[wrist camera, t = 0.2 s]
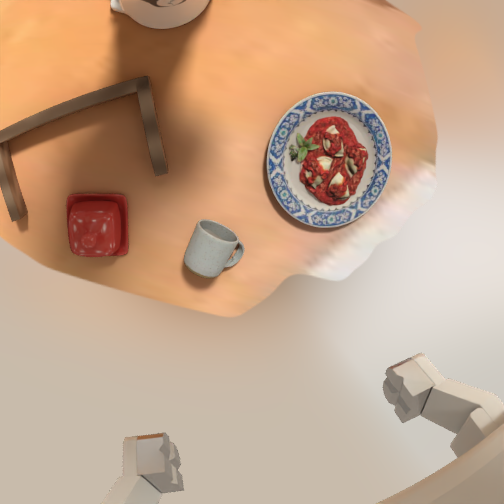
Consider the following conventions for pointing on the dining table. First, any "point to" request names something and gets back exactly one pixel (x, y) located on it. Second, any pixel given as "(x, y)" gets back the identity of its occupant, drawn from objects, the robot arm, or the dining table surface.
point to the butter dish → (97, 224)
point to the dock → (3, 169)
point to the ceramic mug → (212, 249)
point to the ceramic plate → (329, 159)
